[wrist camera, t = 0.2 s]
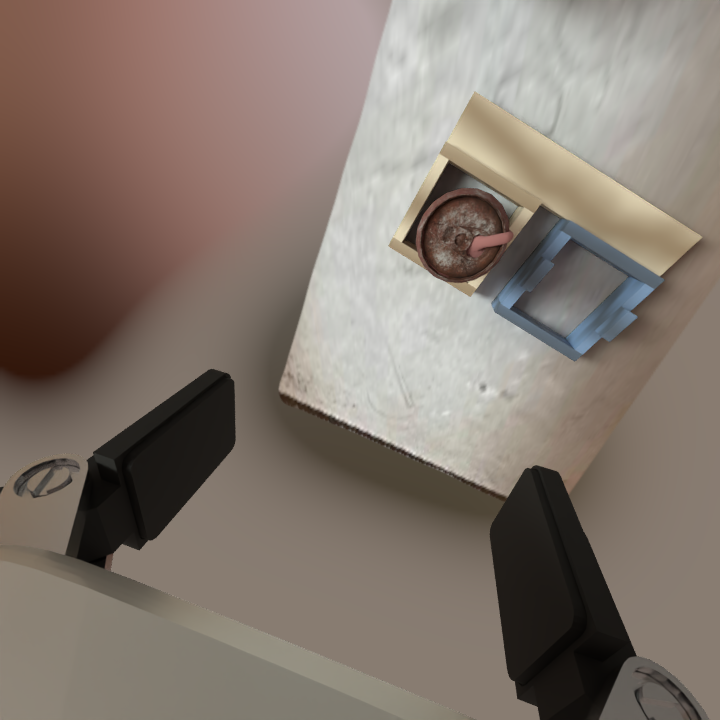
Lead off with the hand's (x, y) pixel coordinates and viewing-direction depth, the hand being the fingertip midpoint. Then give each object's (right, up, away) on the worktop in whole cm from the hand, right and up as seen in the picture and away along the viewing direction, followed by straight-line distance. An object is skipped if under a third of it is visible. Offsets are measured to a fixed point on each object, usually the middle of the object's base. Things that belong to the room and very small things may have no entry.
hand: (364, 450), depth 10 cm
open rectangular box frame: (+17, +15, +22) cm, 31 cm away
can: (+10, +17, +23) cm, 30 cm away
